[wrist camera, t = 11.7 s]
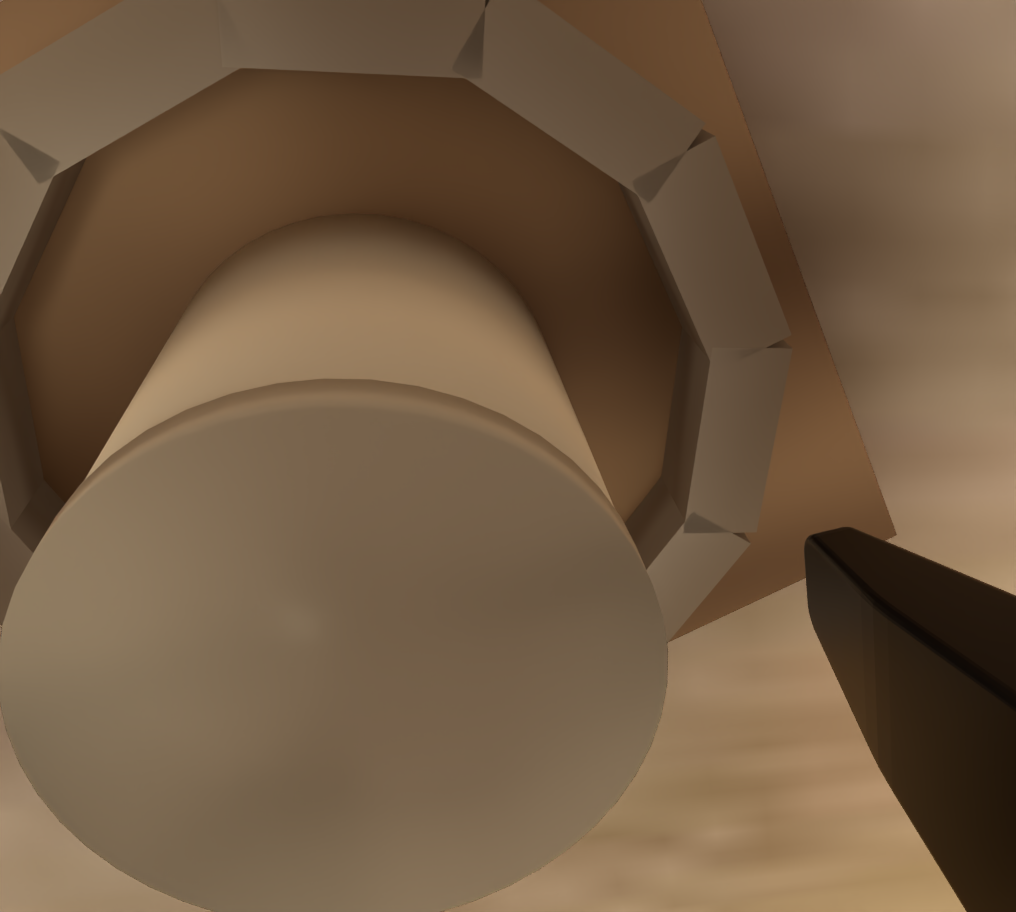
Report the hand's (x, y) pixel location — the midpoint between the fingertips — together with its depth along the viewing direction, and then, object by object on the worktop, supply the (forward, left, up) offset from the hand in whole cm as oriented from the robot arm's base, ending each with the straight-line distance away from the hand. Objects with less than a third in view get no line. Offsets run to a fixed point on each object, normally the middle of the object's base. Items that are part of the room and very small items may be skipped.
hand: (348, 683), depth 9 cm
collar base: (0, 0, -8) cm, 8 cm away
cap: (0, 0, -7) cm, 7 cm away
